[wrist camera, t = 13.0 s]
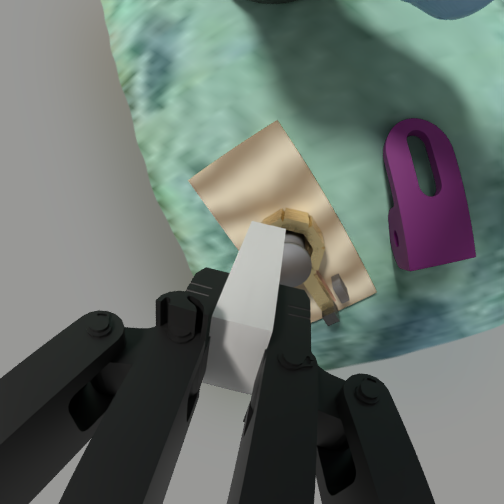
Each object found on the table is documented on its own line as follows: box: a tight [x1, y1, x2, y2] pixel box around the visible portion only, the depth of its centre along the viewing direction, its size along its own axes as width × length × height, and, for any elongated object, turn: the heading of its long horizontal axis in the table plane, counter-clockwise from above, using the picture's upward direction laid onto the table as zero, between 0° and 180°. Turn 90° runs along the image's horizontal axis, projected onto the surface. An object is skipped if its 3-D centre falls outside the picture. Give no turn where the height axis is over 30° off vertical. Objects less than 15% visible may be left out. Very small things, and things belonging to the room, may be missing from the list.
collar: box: [261, 208, 340, 326], centre depth 39 cm, size 16×8×5 cm, turn 35°
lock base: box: [188, 120, 377, 323], centre depth 37 cm, size 28×14×9 cm, turn 34°
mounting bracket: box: [383, 118, 476, 271], centre depth 34 cm, size 10×8×18 cm
